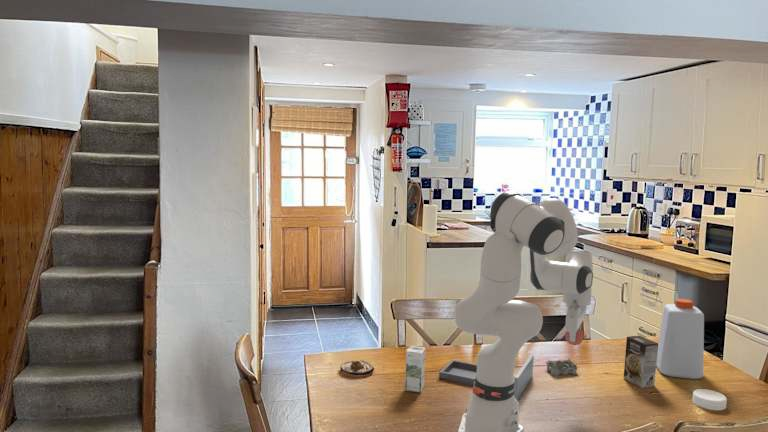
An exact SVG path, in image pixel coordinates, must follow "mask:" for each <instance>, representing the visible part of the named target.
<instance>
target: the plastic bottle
mask: <svg viewBox="0 0 768 432" xmlns="http://www.w3.org/2000/svg"><path fill="white" fill-rule="evenodd" d="M674 301H675V303H667V304H665V305H664V306H663V311H662V312H663V313H662V318H661V324H660V328H659V329H660V330H659V336H658V342H657V343H658V353H657V363H656V368H657V369H658V371H659V372H660V373H661V374H662V375H664V376H667V377H671V378H677V379H678V378H681V379H688V380H689V379H690V380H700V379H702V378H703V376H704V358H705V357H704V356H705V355H704V351H705V348H704V347H705V345H704V343H705V338H704V337H705V314H704V313H703V311H701V310H700V309H699V308H698V307H697V306H694V301H692V300H690V299H687V298H677V299H675V300H674Z"/></svg>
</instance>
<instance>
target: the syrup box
mask: <svg viewBox="0 0 768 432" xmlns="http://www.w3.org/2000/svg"><path fill="white" fill-rule="evenodd" d="M405 353H406V354H405V382H404V386H405V387H404V391H406V392H410V393H412V392H414V393H419V394H422V391H423V390H424V387H425V369H426V368H425V367H426V364H425V363H426V347H421V346H414V345H409V346H408V347H407V349H406V352H405Z"/></svg>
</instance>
